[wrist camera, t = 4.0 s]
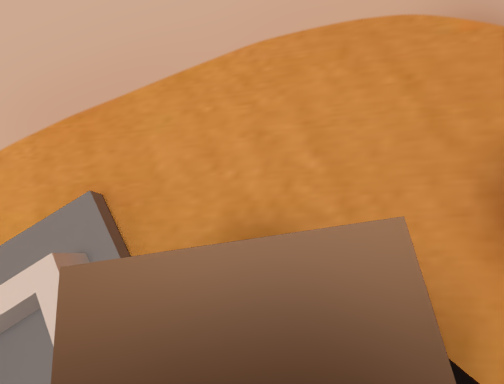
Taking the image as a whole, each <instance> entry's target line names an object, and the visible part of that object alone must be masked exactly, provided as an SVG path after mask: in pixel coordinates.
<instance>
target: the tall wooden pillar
mask: <svg viewBox="0 0 504 384" xmlns="http://www.w3.org/2000/svg"><path fill="white" fill-rule="evenodd" d="M51 384H456V381H455V378H454V375H453V372H452V368H451V365H450V362H449V359H448V356H447V352H446V349H445V346H444V343H443V340H442V336H441V333H440V330H439V327H438V324H437V321H436V317H435V314H434V311H433V308H432V305H431V301H430V298H429V295H428V292H427V289H426V285H425V282H424V279H423V276H422V273H421V269H420V266H419V263H418V260H417V257H416V254H415V250H414V247H413V244H412V241H411V238H410V234H409V231H408V228H407V225H406V222H405V218H404V217H397V218H390V219H383V220H376V221H369V222H363V223H356V224H349V225H342V226H335V227H329V228H322V229H315V230H308V231H301V232H295V233H288V234H281V235H274V236H267V237H261V238H254V239H247V240H240V241H233V242H227V243H220V244H213V245H206V246H199V247H193V248H186V249H179V250H172V251H165V252H159V253H152V254H145V255H138V256H131V257H125V258H118V259H111V260H104V261H97V262H91V263H84V264H77V265H70V266H63V267H60V272H59V284H58V297H57V310H56V323H55V336H54V348H53V361H52V374H51Z"/></svg>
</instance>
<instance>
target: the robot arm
mask: <svg viewBox="0 0 504 384" xmlns="http://www.w3.org/2000/svg"><path fill="white" fill-rule="evenodd" d="M448 359H449V358H448ZM449 362H450V365H451V368H452V372H453V375H454V378H455V381H456V384H479V383H478V382H477V381H476V380H474V379H473V378H472V377H470V376H469V375H468V374H467V373H465V372H464V371H463V370H462V369H461V368H460V367H458V366H457V365H456V364H455V363H454V362H452V361H451V360H450V359H449Z"/></svg>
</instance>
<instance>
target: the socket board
mask: <svg viewBox="0 0 504 384" xmlns="http://www.w3.org/2000/svg"><path fill="white" fill-rule="evenodd" d="M125 257H130V255H129V252H128V250H127V248H126V246H125V244H124V242H123V239H122V237H121V235H120V233H119V231H118V229H117V227H116V224H115V222H114V220H113V218H112V216H111V214H110V212H109V209H108V207H107V205H106V203H105V201H104V199H103V196H102V195H101V194H98V193H95V192H93V191H88V192H87V193H85V194H83V195H82V196H80V197H79V198H77V199H75V200H74V201H72V202H70V203H69V204H67V205H66V206H64V207H62V208H61V209H59V210H57V211H56V212H54V213H53V214H51V215H49V216H48V217H46V218H44V219H43V220H41V221H40V222H38V223H36V224H35V225H33V226H31V227H30V228H28V229H27V230H25V231H23V232H22V233H20V234H18V235H17V236H15V237H14V238H12V239H10V240H9V241H7V242H5V243H4V244H2V245H1V246H0V384H51V374H52V361H53V348H54V336H55V323H56V310H57V297H58V284H59V272H60V267H63V266H70V265H77V264H84V263H91V262H97V261H104V260H111V259H118V258H125Z"/></svg>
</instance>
